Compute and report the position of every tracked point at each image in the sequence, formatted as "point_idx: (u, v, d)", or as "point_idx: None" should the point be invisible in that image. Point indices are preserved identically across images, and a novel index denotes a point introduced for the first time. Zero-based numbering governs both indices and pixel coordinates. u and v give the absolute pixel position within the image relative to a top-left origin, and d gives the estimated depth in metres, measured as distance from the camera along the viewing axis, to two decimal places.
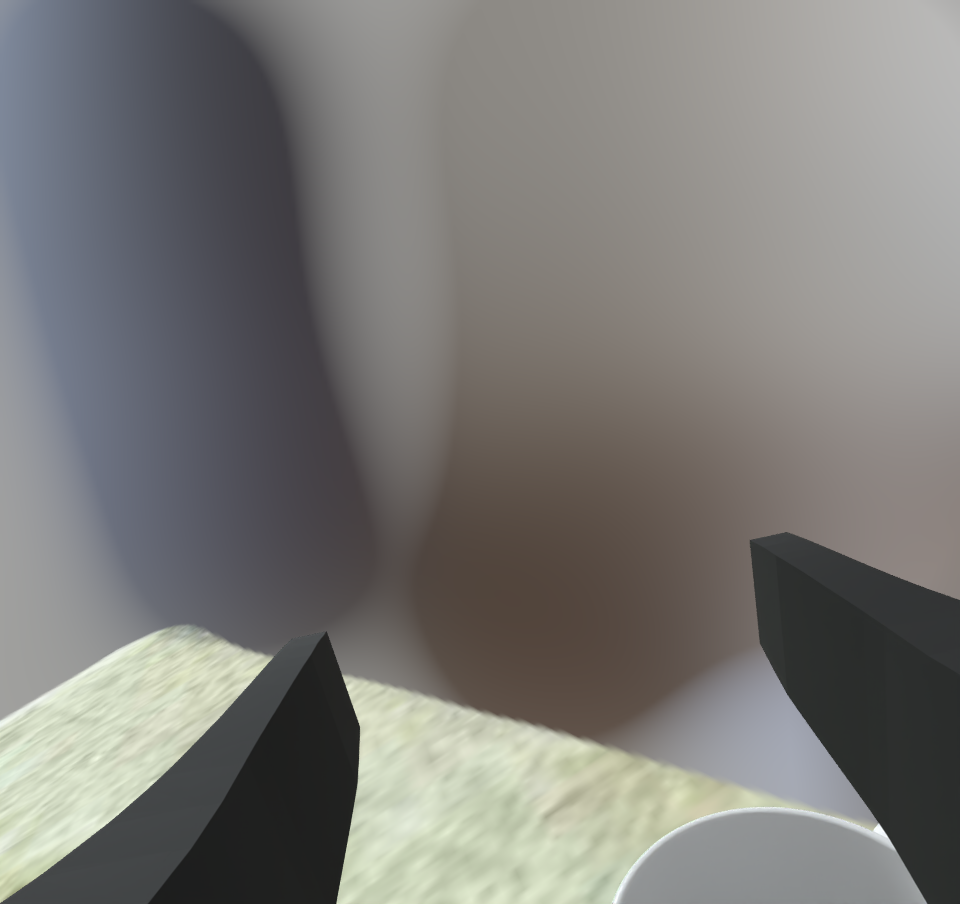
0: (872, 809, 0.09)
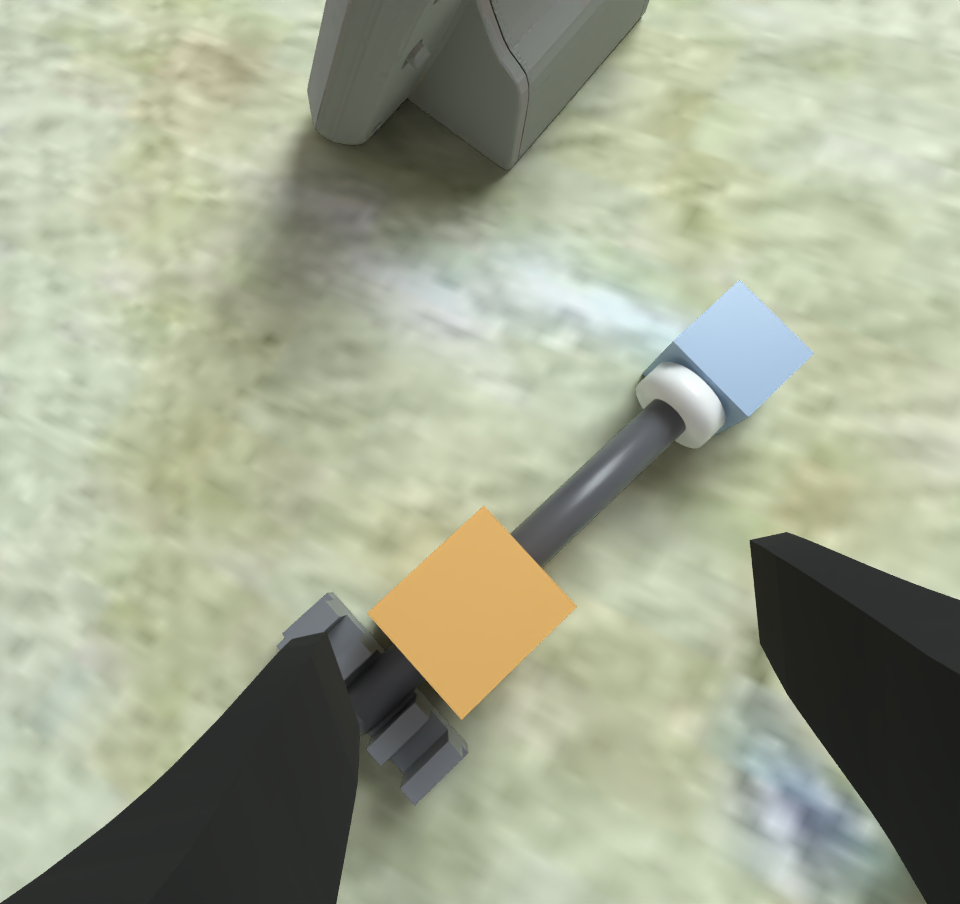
0: (872, 809, 0.09)
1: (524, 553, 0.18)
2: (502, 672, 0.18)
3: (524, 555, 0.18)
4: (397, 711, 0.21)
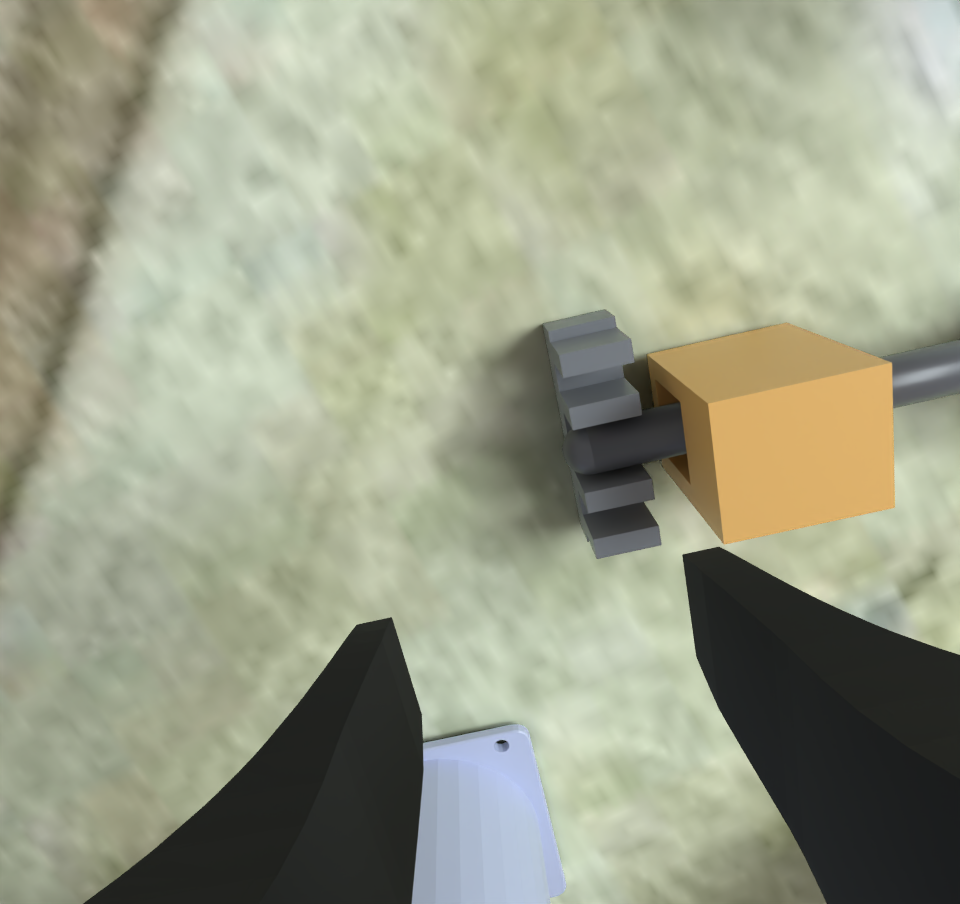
0: (791, 826, 0.09)
1: (891, 433, 0.16)
2: (787, 525, 0.17)
3: (889, 435, 0.16)
4: None
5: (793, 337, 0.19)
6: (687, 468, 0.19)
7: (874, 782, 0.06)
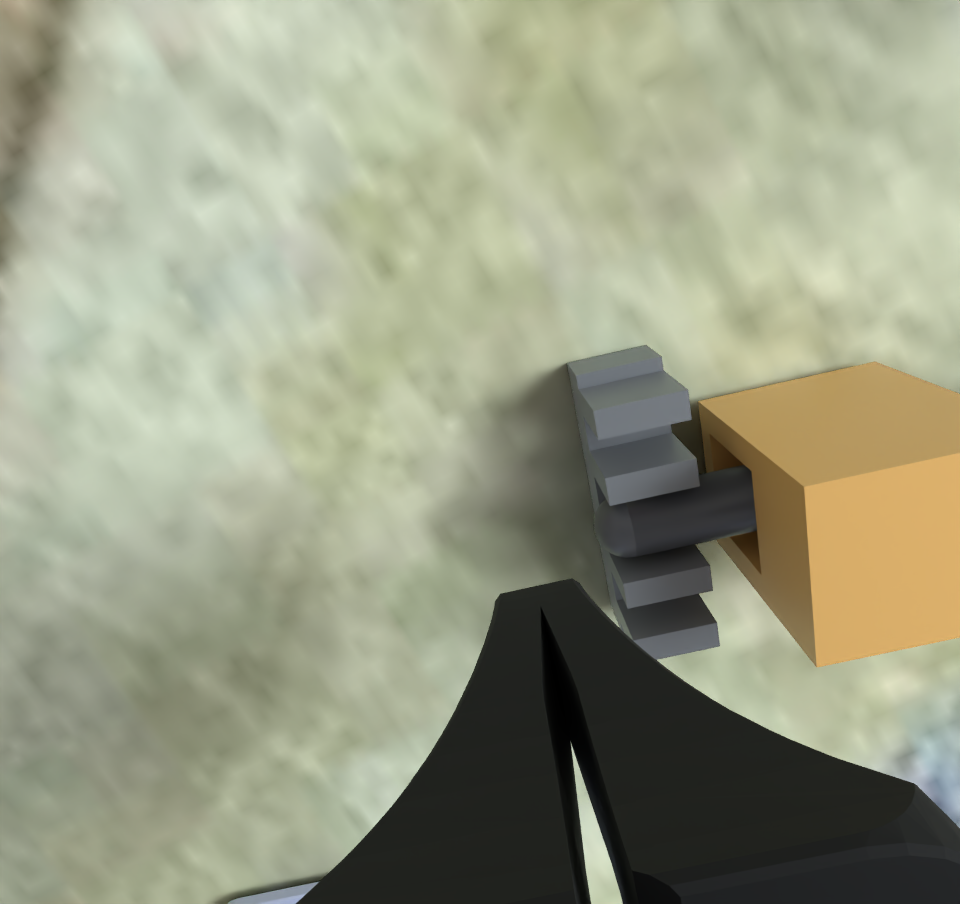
0: (612, 862, 0.09)
1: None
2: (901, 642, 0.12)
3: None
4: None
5: (892, 384, 0.14)
6: (752, 548, 0.15)
7: (614, 835, 0.07)
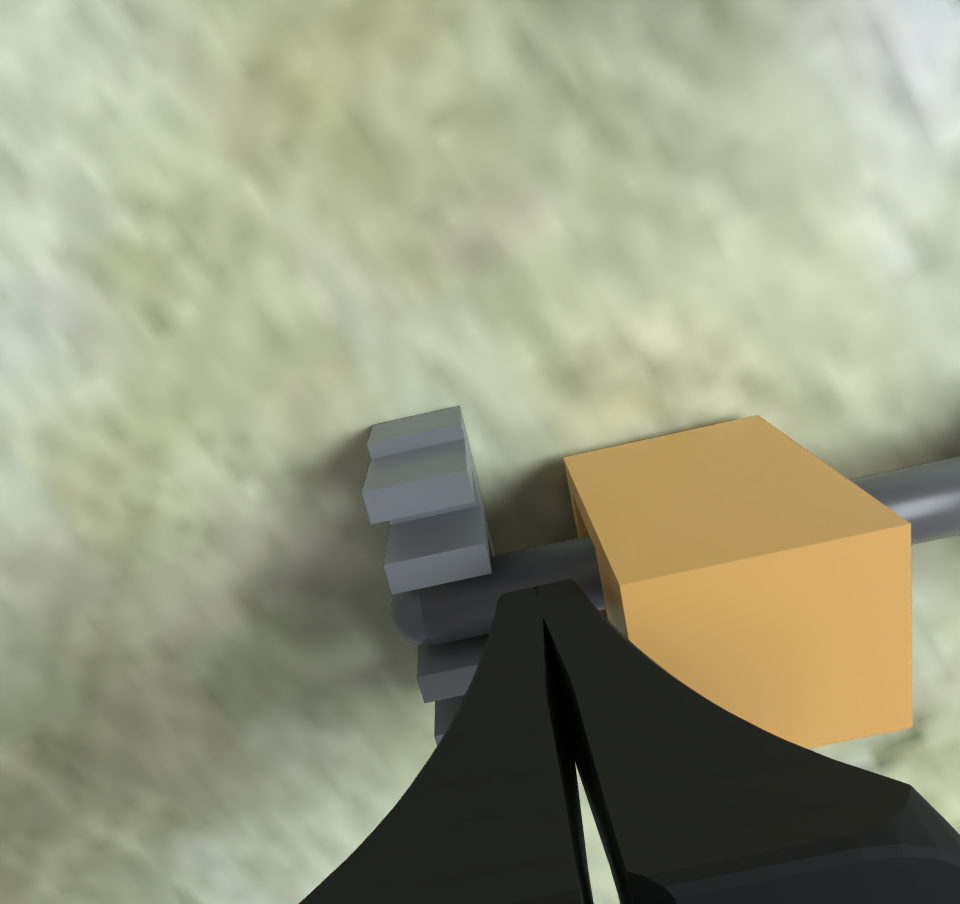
0: (609, 862, 0.10)
1: (908, 625, 0.10)
2: None
3: (905, 628, 0.10)
4: None
5: (764, 446, 0.13)
6: None
7: (610, 836, 0.07)
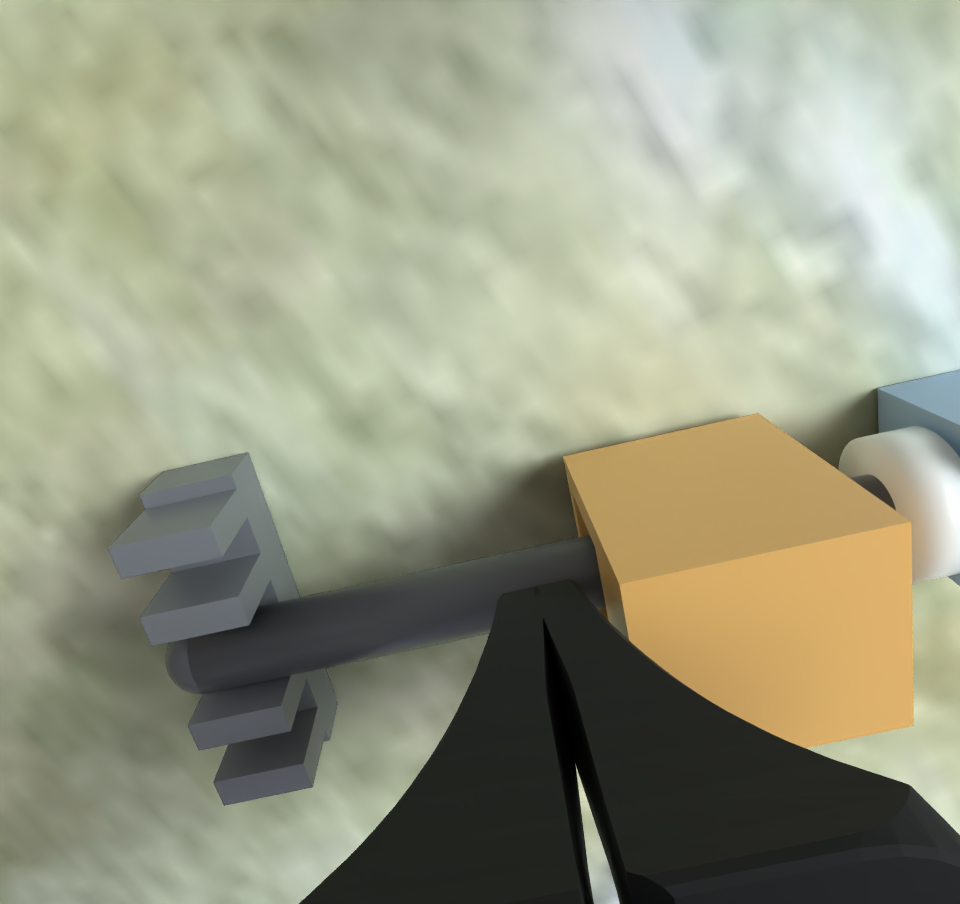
0: (609, 862, 0.10)
1: (908, 624, 0.10)
2: None
3: (906, 626, 0.10)
4: None
5: (764, 444, 0.13)
6: None
7: (610, 835, 0.07)
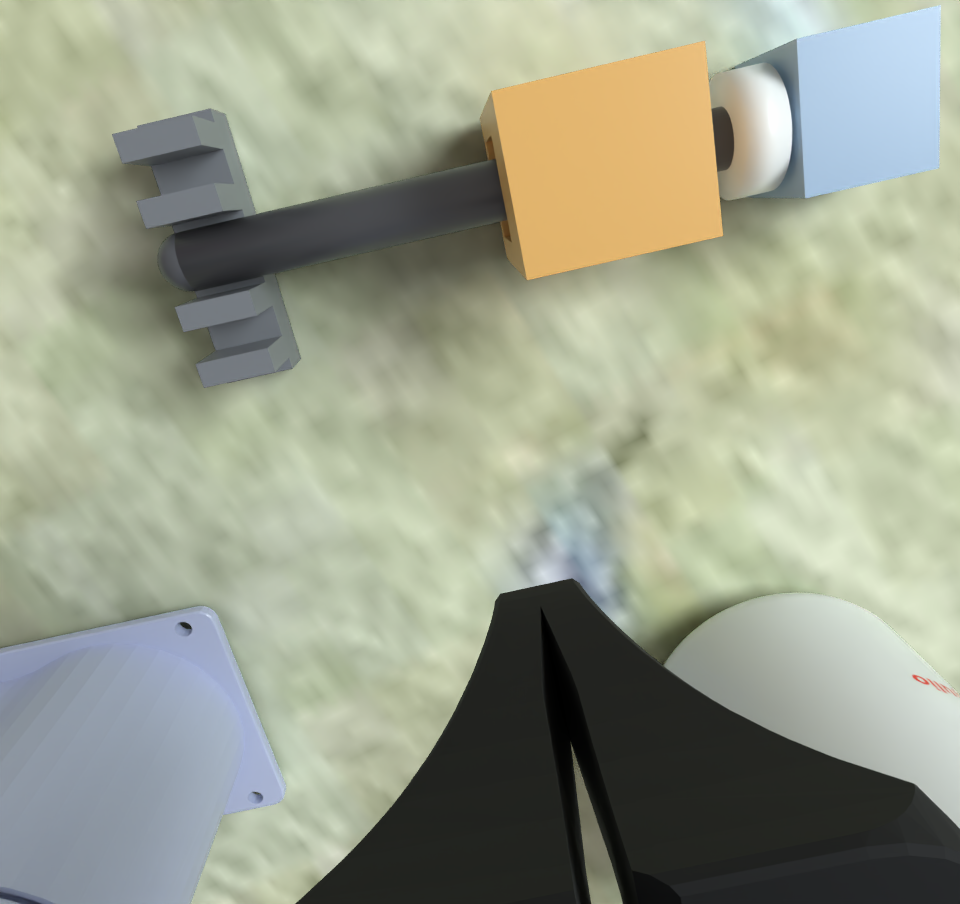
0: (612, 862, 0.10)
1: (710, 135, 0.14)
2: (599, 257, 0.14)
3: (709, 138, 0.14)
4: (236, 287, 0.18)
5: None
6: None
7: (614, 835, 0.07)
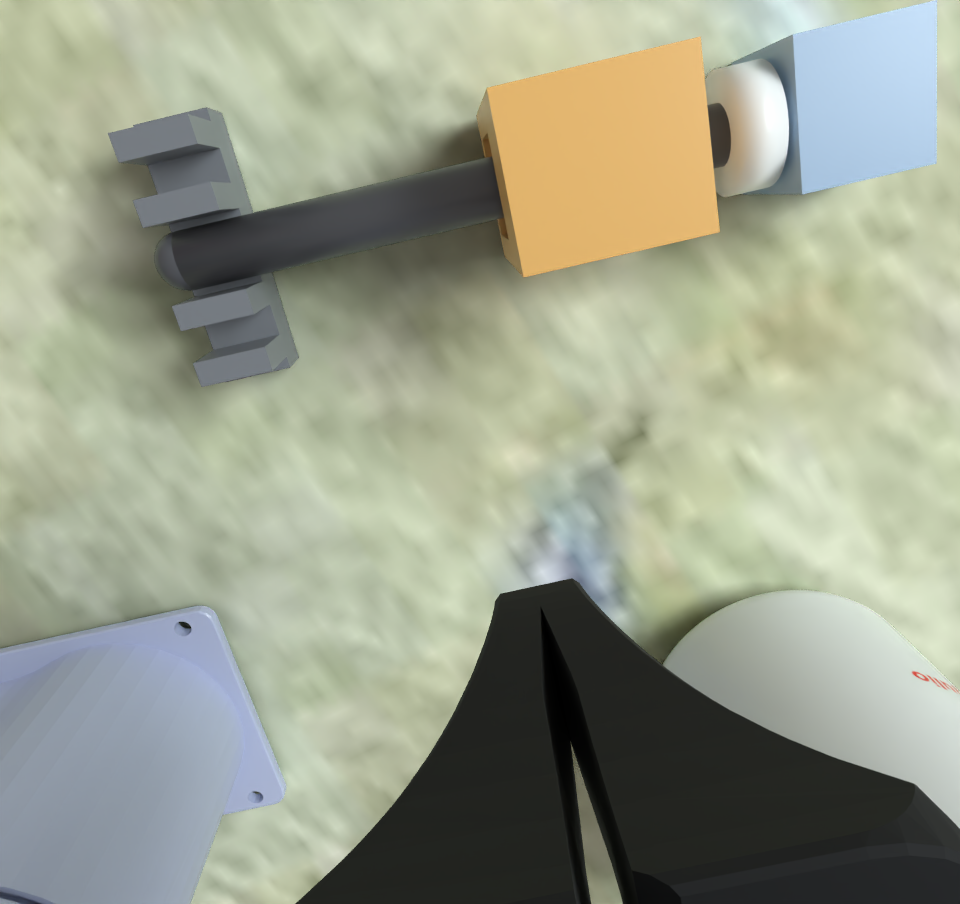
0: (612, 862, 0.10)
1: (706, 131, 0.14)
2: (595, 254, 0.14)
3: (705, 134, 0.14)
4: (233, 286, 0.18)
5: None
6: None
7: (614, 835, 0.07)
